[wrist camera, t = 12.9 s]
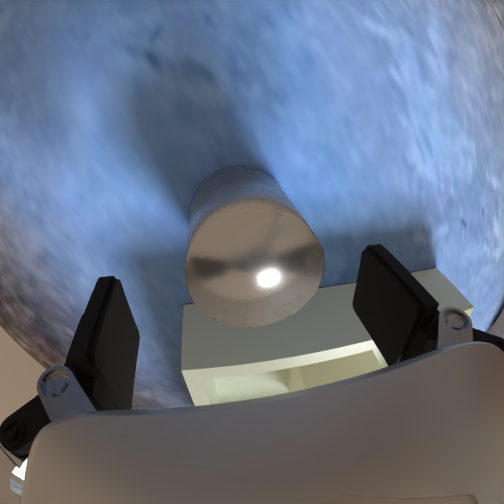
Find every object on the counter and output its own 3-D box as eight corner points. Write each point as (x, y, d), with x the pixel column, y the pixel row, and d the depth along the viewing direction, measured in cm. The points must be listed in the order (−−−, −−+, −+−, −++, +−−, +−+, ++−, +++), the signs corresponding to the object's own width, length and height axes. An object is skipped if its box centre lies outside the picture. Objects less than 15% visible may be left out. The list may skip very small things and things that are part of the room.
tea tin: (185, 171, 14) (174, 219, 9) (286, 162, 15) (330, 205, 10) (197, 257, 17) (197, 333, 12) (284, 248, 17) (317, 317, 12)
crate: (183, 304, 18) (181, 370, 14) (436, 267, 21) (474, 307, 16) (214, 415, 27) (218, 460, 22) (387, 379, 29) (405, 415, 25)
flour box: (291, 347, 21) (318, 427, 15) (362, 332, 22) (399, 401, 16) (287, 388, 24) (306, 455, 18) (348, 374, 25) (374, 435, 19)
